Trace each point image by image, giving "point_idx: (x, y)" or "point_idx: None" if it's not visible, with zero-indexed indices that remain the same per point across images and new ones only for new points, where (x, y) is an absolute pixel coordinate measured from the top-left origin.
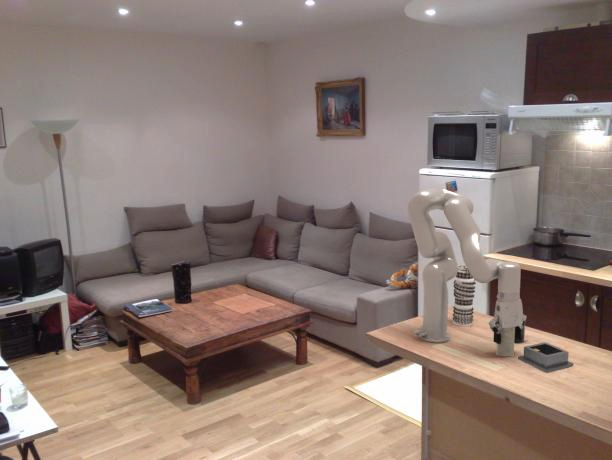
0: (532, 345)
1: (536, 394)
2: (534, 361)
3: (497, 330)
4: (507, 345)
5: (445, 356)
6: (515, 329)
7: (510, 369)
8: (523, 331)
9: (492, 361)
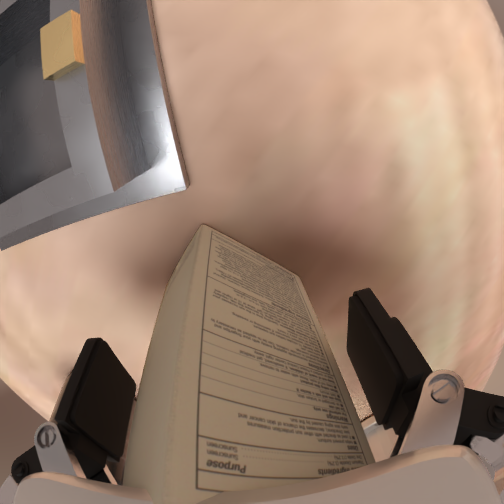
0: (29, 210)
1: None
2: (123, 59)
3: (458, 409)
4: (250, 292)
5: (489, 297)
6: (110, 438)
7: (356, 44)
8: (56, 411)
9: (389, 194)
